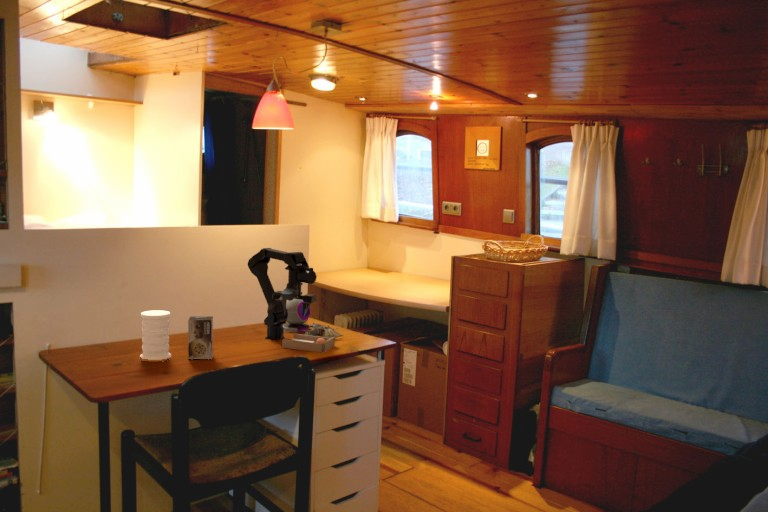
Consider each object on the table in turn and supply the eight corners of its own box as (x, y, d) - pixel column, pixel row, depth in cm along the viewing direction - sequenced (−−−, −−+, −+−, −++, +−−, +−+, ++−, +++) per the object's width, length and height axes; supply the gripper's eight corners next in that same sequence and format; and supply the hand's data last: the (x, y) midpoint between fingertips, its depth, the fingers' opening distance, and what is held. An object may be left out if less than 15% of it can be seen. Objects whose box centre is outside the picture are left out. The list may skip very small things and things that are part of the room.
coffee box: (213, 355, 263) (213, 316, 261) (211, 360, 257) (212, 319, 255) (189, 355, 261) (189, 315, 260) (187, 360, 255) (187, 319, 253)
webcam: (297, 333, 305) (298, 302, 304) (276, 329, 312) (277, 298, 311) (314, 329, 316) (315, 298, 315) (294, 325, 323) (295, 295, 321)
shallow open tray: (282, 347, 280) (282, 338, 279) (294, 341, 291) (294, 332, 291) (323, 352, 274) (323, 343, 274) (334, 346, 285) (334, 337, 285)
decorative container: (168, 362, 251) (168, 316, 249) (136, 362, 249) (136, 315, 247) (173, 354, 263) (173, 310, 261) (142, 354, 261) (142, 309, 259)
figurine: (327, 320, 314) (353, 326, 303) (326, 332, 314) (352, 339, 304) (296, 323, 298) (323, 330, 288) (295, 336, 299) (322, 344, 288)
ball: (324, 341, 278) (321, 350, 279) (328, 339, 282) (325, 347, 283) (316, 337, 279) (313, 345, 280) (320, 335, 283) (317, 343, 284)
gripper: (266, 281, 280) (265, 317, 282) (306, 285, 275) (305, 322, 277) (278, 278, 291) (277, 312, 293) (317, 281, 285) (316, 317, 287)
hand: (293, 316), depth 287 cm, fingers open, 9 cm apart
